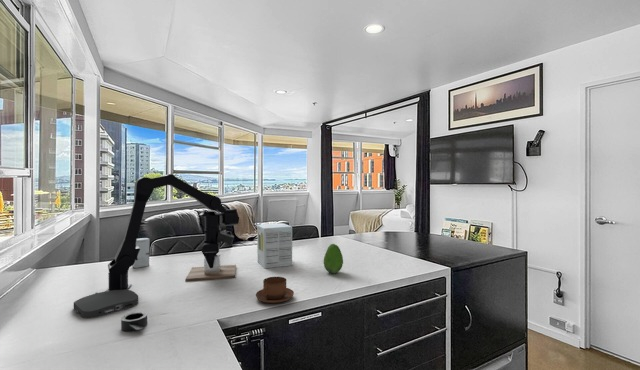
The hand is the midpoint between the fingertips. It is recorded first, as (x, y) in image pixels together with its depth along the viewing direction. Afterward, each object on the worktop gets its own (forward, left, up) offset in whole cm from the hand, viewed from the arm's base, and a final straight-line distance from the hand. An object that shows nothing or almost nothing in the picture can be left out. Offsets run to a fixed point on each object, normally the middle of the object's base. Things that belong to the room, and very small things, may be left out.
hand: (212, 265), depth 128 cm
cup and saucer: (-34, -22, -4) cm, 40 cm away
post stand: (0, 0, -4) cm, 4 cm away
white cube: (0, 0, -2) cm, 2 cm away
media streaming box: (-27, +28, -4) cm, 39 cm away
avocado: (-11, -48, -4) cm, 49 cm away
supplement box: (+10, -26, -4) cm, 28 cm away
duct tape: (-44, +15, -4) cm, 47 cm away
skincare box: (+20, +32, -4) cm, 38 cm away
